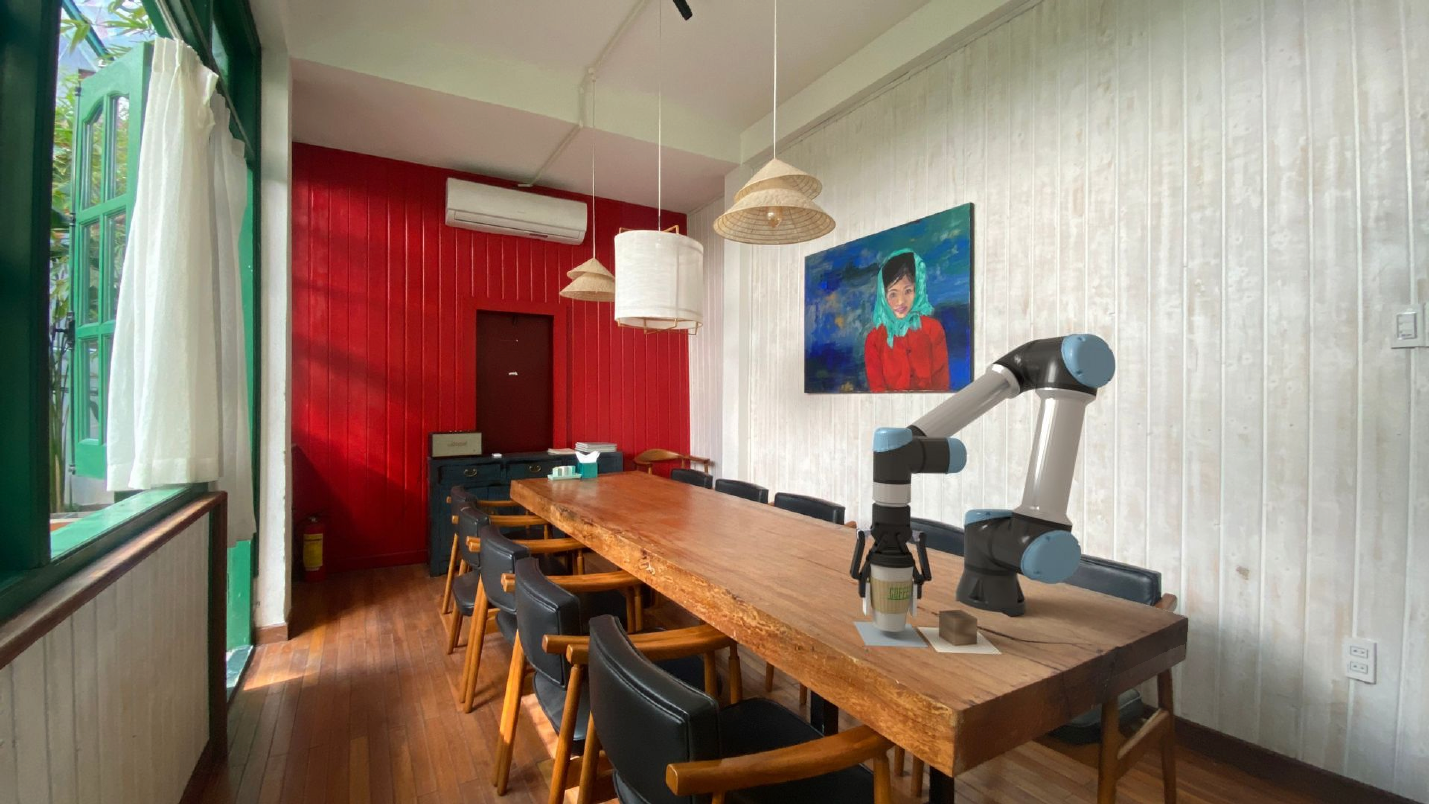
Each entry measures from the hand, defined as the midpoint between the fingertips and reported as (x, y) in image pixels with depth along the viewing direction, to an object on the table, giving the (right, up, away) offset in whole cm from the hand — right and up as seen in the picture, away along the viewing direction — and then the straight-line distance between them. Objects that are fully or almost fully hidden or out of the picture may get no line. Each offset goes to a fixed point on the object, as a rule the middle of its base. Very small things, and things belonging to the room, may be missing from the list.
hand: (889, 613), depth 116 cm
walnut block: (+13, -4, -2) cm, 14 cm away
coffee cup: (0, -3, 0) cm, 3 cm away
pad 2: (+13, -5, -2) cm, 14 cm away
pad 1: (0, -5, 0) cm, 5 cm away
